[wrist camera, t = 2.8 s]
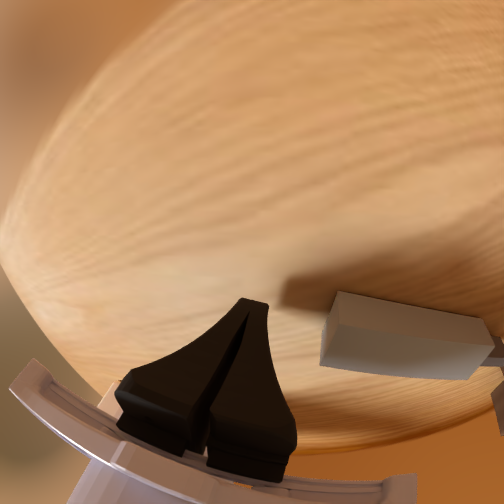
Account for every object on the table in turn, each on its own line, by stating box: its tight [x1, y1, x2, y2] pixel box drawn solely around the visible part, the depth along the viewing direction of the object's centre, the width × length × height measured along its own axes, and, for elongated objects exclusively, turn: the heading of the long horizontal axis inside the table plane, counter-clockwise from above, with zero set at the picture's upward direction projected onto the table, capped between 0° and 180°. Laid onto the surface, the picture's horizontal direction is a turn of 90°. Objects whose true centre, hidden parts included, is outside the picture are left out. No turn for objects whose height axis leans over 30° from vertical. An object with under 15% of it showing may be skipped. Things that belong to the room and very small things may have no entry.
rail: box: [320, 291, 504, 380], centre depth 12 cm, size 13×3×2 cm, turn 84°
